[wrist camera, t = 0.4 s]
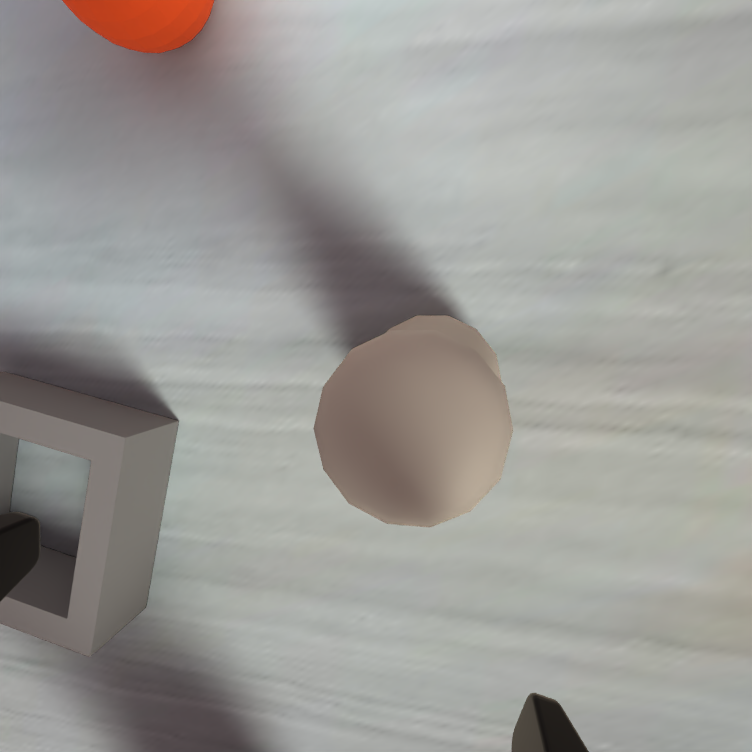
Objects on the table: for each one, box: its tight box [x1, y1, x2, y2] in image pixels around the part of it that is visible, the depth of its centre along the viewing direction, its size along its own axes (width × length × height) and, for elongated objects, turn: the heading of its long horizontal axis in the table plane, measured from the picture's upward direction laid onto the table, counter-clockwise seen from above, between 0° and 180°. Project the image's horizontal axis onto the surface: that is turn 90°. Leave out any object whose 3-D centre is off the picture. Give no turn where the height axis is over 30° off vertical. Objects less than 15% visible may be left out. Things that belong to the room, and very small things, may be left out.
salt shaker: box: [314, 315, 513, 527], centre depth 15 cm, size 6×6×13 cm
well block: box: [0, 372, 179, 657], centre depth 24 cm, size 11×11×4 cm
